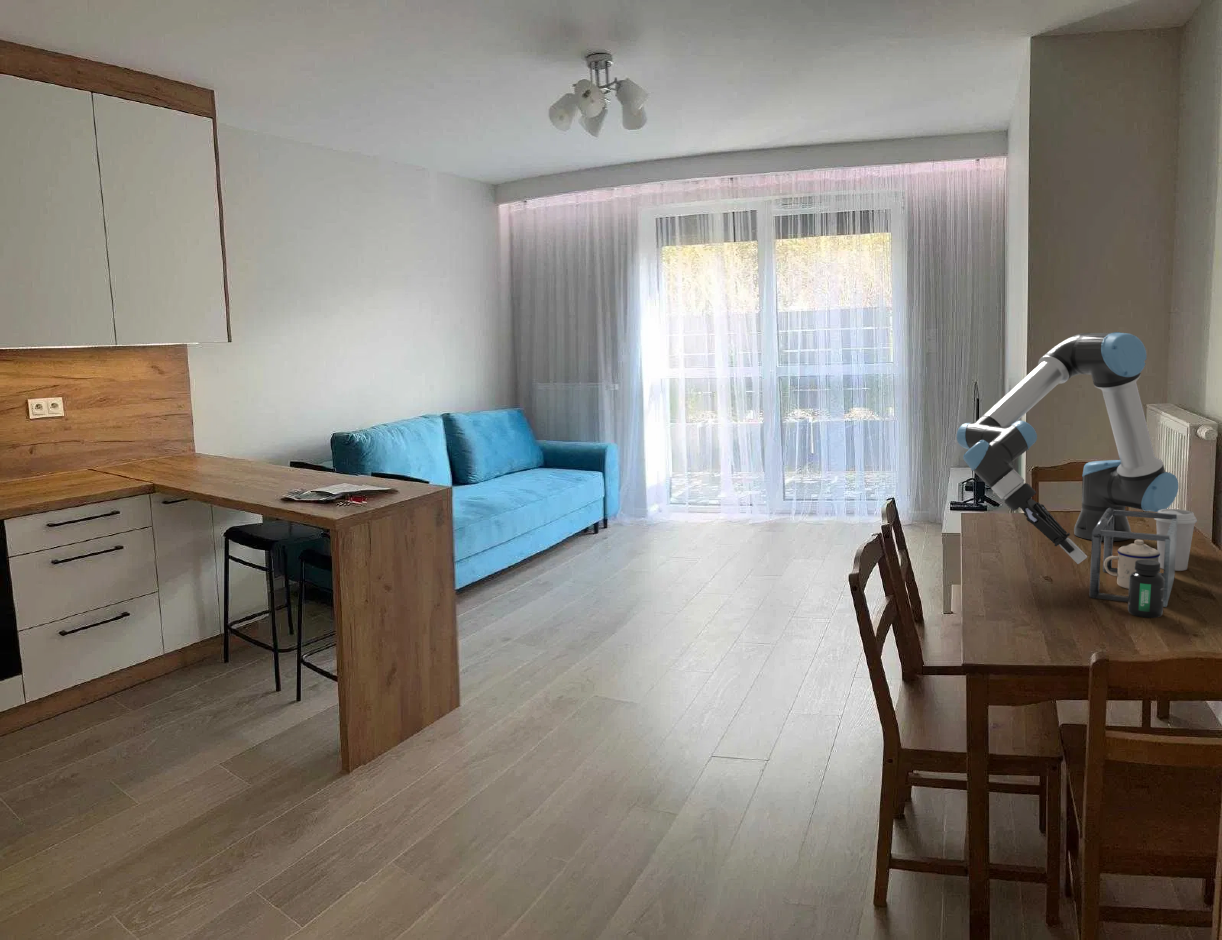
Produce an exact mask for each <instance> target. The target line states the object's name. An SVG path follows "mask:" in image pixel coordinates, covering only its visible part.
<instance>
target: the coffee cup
mask: <svg viewBox="0 0 1222 940" xmlns="http://www.w3.org/2000/svg"><path fill="white" fill-rule="evenodd" d="M1157 513H1166V514H1177V516H1178V524H1177V541H1176V558H1175V572H1176V571H1178V572H1179V571H1180V572H1181V571H1186V570H1188V565H1189V558H1190V551H1191V545H1192V539H1193V534H1194V527H1195V523H1197V521H1198V520H1197V517H1196V516H1195V513H1194V512H1193V511H1190V510H1186V509H1179V508H1167V509H1161V510H1159V511H1158V512H1157ZM1153 520H1155V523H1156V525H1155V526H1156V527H1155V528H1156V534H1159V535H1167V533H1168V530H1169V527H1170V524H1171V521H1172V520H1171V519H1158V518H1153ZM1156 543H1157V544H1156V546H1157V548H1156V550H1158V551H1159V553H1160V556H1159V560H1158V562H1159V563H1160V569H1162V570H1164V555H1165V541H1156Z"/></svg>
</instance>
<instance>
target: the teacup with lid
mask: <svg viewBox="0 0 1222 940" xmlns="http://www.w3.org/2000/svg"><path fill="white" fill-rule="evenodd" d="M1117 553H1118V555H1112V556H1110V557H1107V558H1106V559H1105V561H1104V568H1105V570H1106V571H1107V572H1108V573H1107V574H1109V575H1111V576H1114V577H1117V579H1116V583H1117V585H1118V586H1119V587H1121V588H1123V589H1124V588H1125V589H1127V590H1129V577H1130V575H1131V574H1132V573H1133V572H1135V571H1136V570H1135V562H1136V561H1137V560H1152V561H1156V562H1158V560H1159V556H1160V553H1159V551H1158V549H1157V548H1153V547H1151V546H1149V545H1147V544H1146V543H1145V542H1144V539H1134V543H1129V544H1127V545H1122V546H1121V547H1119V548H1118V549H1117ZM1111 559H1112V560H1117V568H1118V573H1115V572H1111V571H1110V570H1109V569H1108V567H1107V563H1108V561H1109V560H1111Z"/></svg>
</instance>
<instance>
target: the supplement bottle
mask: <svg viewBox="0 0 1222 940" xmlns="http://www.w3.org/2000/svg"><path fill="white" fill-rule="evenodd" d="M1135 570H1136V571H1135V572H1133V573H1132V574H1131V575H1130V577H1129V589H1128V595H1127V596H1128V602H1127V611H1128V613H1129V614H1130V615H1132V616H1135V617H1139V618H1144V619H1156V618H1160V617H1162V616H1163V614H1164V607H1163V601H1164V583H1165V580H1164V577H1163V576H1162V575H1161V574H1159V573H1161V568H1160V563H1159V562H1156V561H1152V560H1137V561H1136V562H1135Z"/></svg>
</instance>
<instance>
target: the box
mask: <svg viewBox="0 0 1222 940" xmlns="http://www.w3.org/2000/svg"><path fill="white" fill-rule="evenodd" d="M1114 515H1118V516H1127V517H1130V518H1131V517H1134V518H1146V519H1154V518H1158V519H1171V520H1172V521H1171V524H1170V527H1169V530H1168V533H1167V535H1159V534H1157V533H1144V532H1135V531H1131V532H1123V531H1113V530H1114ZM1177 524H1178V516H1177V514H1166V513H1158V512H1152V511H1139V510H1138V511H1135V510H1125V511H1124V510H1114V509H1113V508H1108V509H1107V510H1106V511H1105V513H1104V514H1103V516H1102V517H1101V519H1100V520H1099V522H1098V523H1097V525H1096V526H1095V528H1094V529H1093V531H1092V540H1091V549H1090V554H1091V555H1090V570H1089V571H1090V572H1089V573H1090V574H1089V578H1090V579H1089V595H1088V597H1089V598H1091V599H1100V600H1107V601H1116V602H1126V603H1128V596H1129V595H1120V594H1111V593H1104V592H1102V593H1101V592H1100V581H1101V580H1100V578H1101V577H1100V576H1101V556H1102V553H1101V552H1102V541H1101V538H1102V536H1104V541H1103V561H1102V572H1103V573H1107V574H1109V573H1108V572H1107V571H1106V570H1105V568H1104V561H1105V559H1106V558H1107V557H1110V556H1113V548H1114V546H1113V545H1114V541H1113V537H1121V538H1130V539H1134V540H1143V541H1144V540H1145V541H1146V540H1147V541H1156V542H1157V541H1165V555H1164V569H1163V572H1159V574H1161V575H1162V576H1163V577H1164V580H1165V583H1164V601H1163V608H1167V606H1168V603H1169V600H1170V595H1171V591H1172V589H1173V584H1174V582H1175V581H1174V580H1175V576H1176V575H1175V574H1176V571H1175V558H1176V541H1177ZM1104 529H1105V530H1104ZM1107 567H1108V569H1109V570H1110V571H1111V572H1115V573H1118V567H1113V559H1111V560H1109V561H1108V563H1107Z"/></svg>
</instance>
